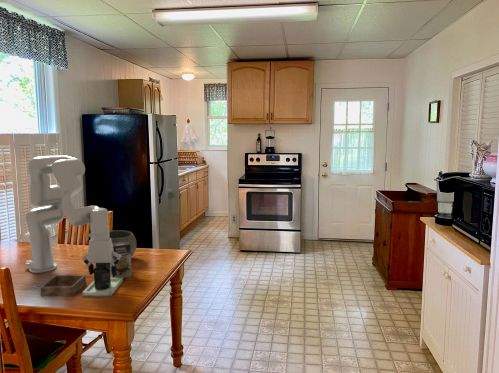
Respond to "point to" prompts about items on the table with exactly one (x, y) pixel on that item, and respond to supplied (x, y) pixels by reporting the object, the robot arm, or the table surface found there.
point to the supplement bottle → (102, 276)
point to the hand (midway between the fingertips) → (102, 273)
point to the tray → (107, 292)
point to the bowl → (124, 238)
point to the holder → (51, 290)
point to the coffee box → (122, 260)
